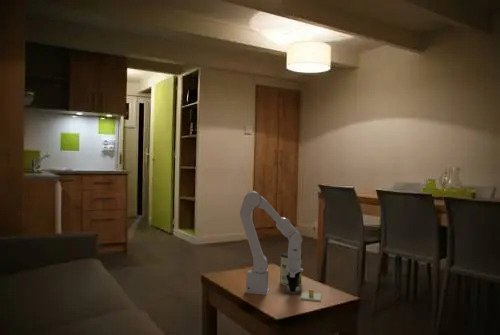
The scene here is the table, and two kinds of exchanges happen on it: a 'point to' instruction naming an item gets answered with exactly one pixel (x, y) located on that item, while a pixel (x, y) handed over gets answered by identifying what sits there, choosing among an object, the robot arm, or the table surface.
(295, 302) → the table surface
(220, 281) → the table surface
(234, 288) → the table surface
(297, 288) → the ring
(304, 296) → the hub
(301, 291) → the mat
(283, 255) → the coffee can
